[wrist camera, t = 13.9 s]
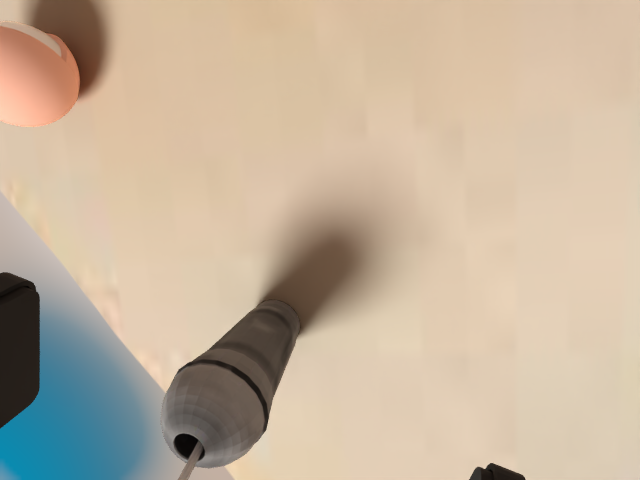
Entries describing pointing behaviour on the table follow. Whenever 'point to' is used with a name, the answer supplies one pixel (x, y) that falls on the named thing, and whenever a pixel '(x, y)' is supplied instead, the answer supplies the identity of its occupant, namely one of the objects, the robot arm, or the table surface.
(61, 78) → the toy ball
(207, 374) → the beverage cup
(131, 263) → the table surface
